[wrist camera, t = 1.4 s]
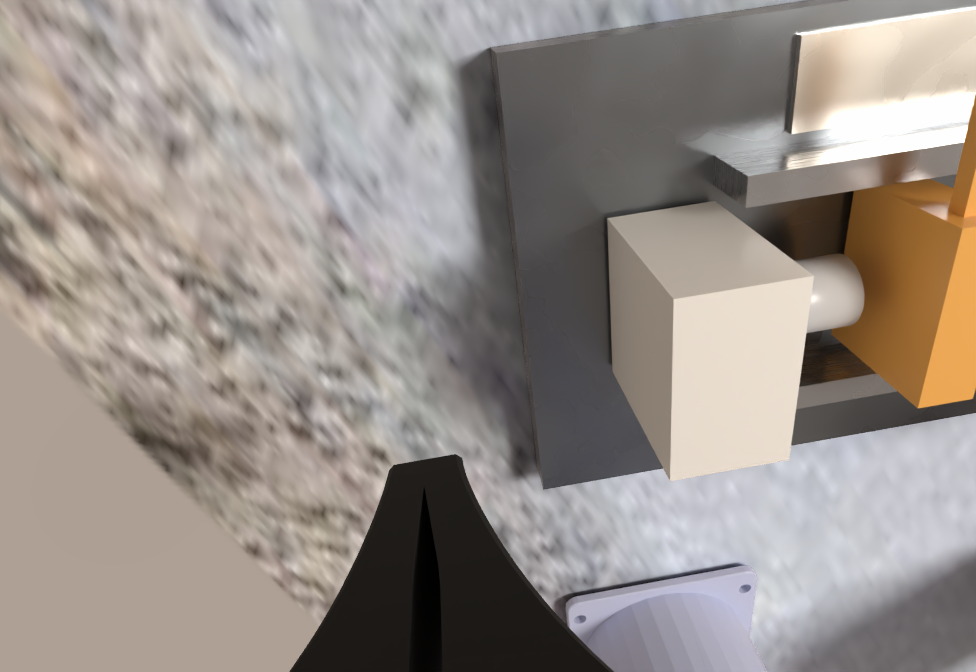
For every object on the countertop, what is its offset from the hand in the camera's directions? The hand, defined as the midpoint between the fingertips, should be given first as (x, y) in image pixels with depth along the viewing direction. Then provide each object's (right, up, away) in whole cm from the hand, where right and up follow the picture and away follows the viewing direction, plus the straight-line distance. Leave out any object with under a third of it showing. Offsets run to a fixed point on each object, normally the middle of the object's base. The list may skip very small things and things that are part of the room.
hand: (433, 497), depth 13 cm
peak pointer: (+12, +7, +5) cm, 15 cm away
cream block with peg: (+8, +5, +6) cm, 11 cm away
